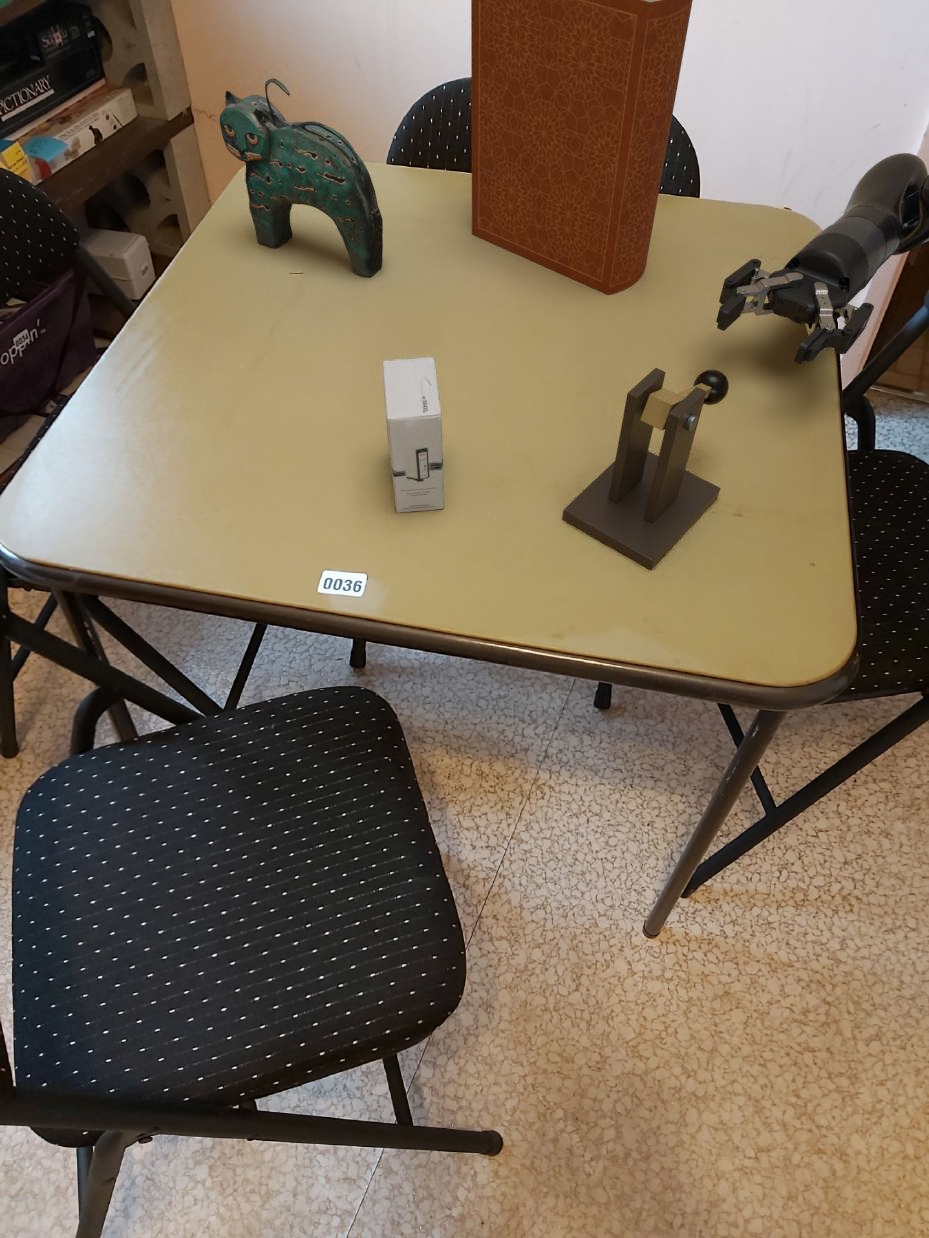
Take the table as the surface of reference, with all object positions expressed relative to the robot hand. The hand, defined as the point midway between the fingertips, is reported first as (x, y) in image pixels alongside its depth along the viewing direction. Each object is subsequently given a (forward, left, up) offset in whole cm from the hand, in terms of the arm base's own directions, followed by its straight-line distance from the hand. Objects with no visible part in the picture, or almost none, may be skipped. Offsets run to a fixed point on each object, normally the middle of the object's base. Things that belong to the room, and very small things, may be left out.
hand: (760, 338), depth 82 cm
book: (+33, -13, -9) cm, 36 cm away
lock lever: (0, +15, 0) cm, 15 cm away
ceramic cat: (+57, +7, -9) cm, 58 cm away
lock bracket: (0, +19, -9) cm, 21 cm away
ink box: (+19, +30, -9) cm, 37 cm away
